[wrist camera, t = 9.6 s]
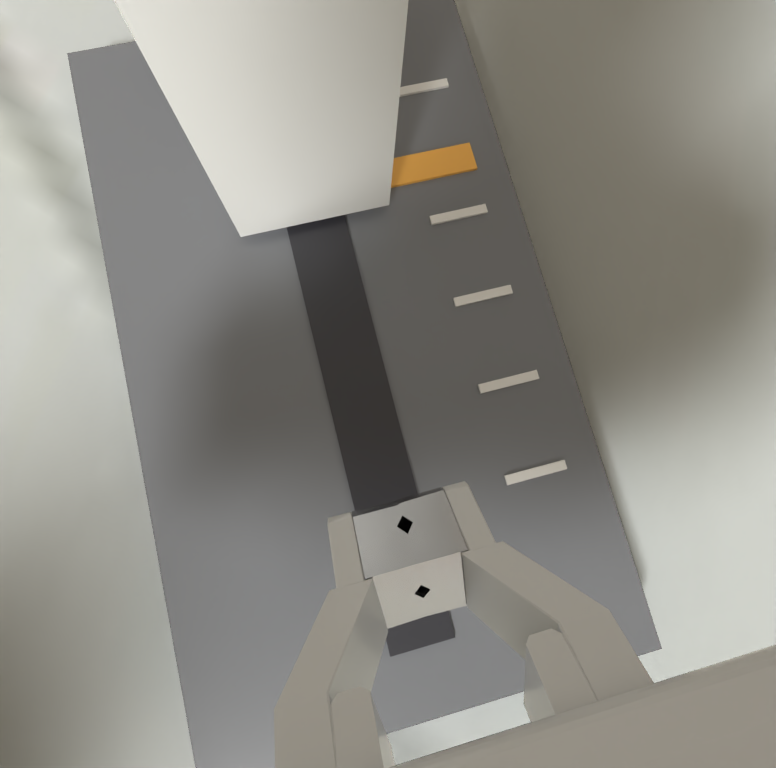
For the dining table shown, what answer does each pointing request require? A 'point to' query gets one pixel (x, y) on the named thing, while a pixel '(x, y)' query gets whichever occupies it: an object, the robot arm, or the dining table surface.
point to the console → (340, 392)
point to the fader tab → (281, 99)
